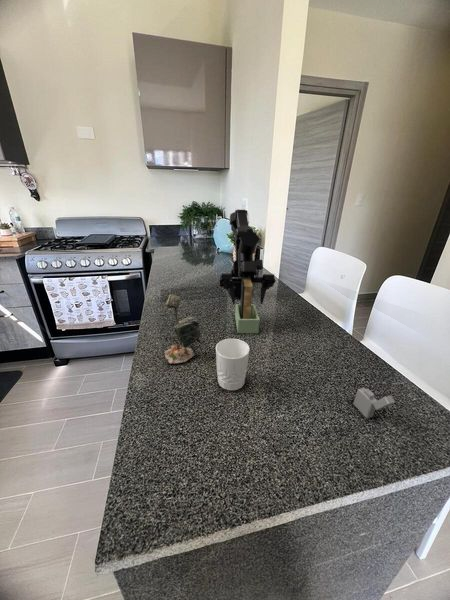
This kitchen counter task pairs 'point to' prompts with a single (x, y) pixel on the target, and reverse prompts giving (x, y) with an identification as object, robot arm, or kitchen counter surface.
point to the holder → (247, 321)
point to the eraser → (245, 299)
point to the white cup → (232, 363)
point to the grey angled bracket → (370, 402)
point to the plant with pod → (182, 335)
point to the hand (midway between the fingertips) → (247, 303)
